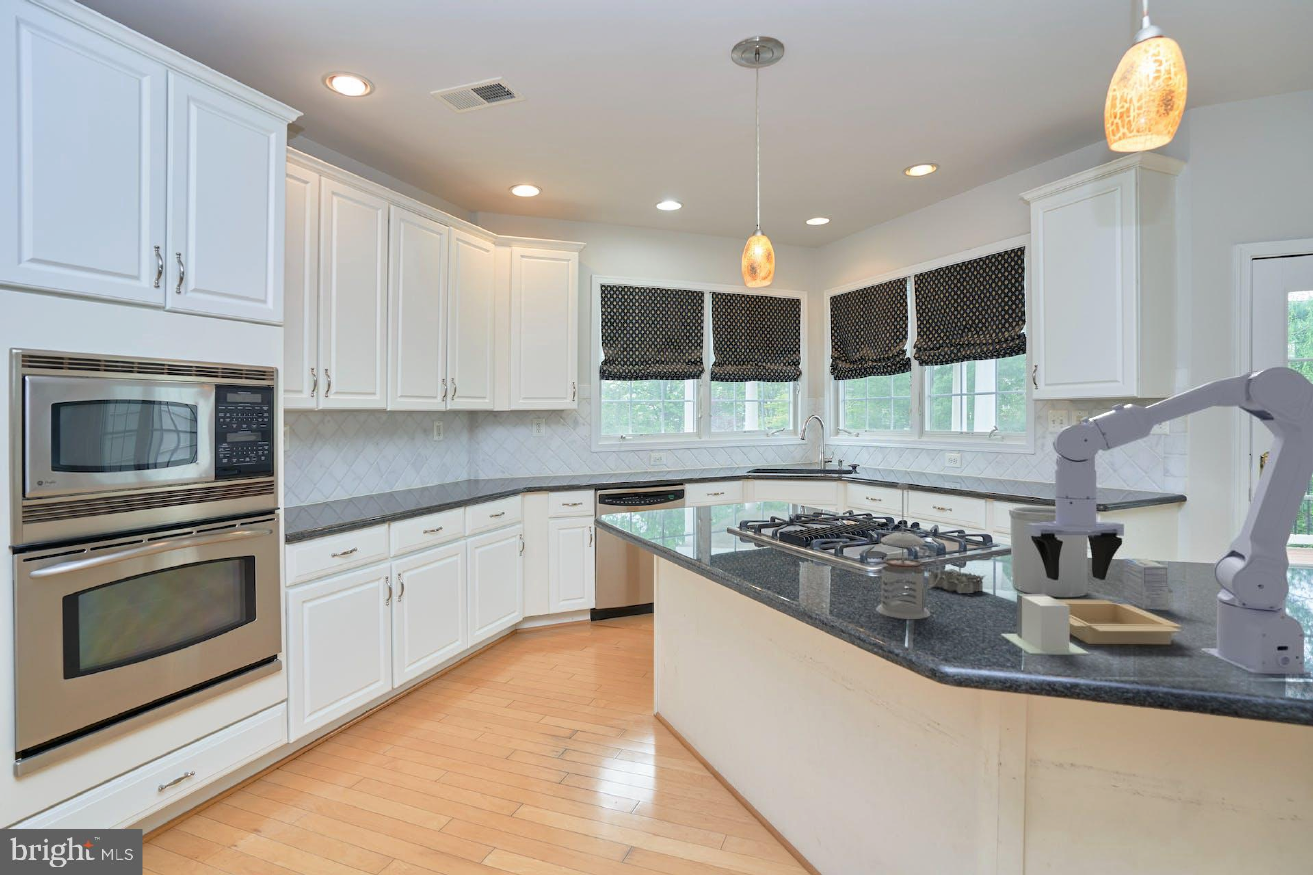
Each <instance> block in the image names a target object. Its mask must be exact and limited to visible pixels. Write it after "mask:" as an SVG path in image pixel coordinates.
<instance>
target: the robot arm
mask: <svg viewBox="0 0 1313 875" xmlns="http://www.w3.org/2000/svg"><path fill="white" fill-rule="evenodd" d="M1212 407H1224V408H1225V407H1227V408H1231V407H1233V408H1234V407H1238V408H1240V409H1241V410H1243V411H1244V412H1246V413H1248V414H1250V415H1251V416H1253V417H1255V418H1257V419H1259V421H1260V422H1261V423H1262V424H1263V425H1264V426H1265V427H1266V428H1267V429H1268V431H1270V432H1271V434H1272V435H1273V436H1274V437H1273V438H1274V439H1273V441H1272V443H1271V446H1270V449H1269V451H1268V455H1267V457H1266V459H1265V460H1266V461H1265V463H1264V466H1263V469H1262V472H1261V474H1260V477H1259V481H1258V484H1257V486H1256V488H1255V491H1254V494H1253V497H1252V500H1251V503H1250V506H1249V509H1248V512H1247V513H1246V517H1245V520H1244V523H1243V525H1242V528H1241V531H1240V533H1239V535H1238V536H1237V537H1236V538H1235V539H1234V540H1233V541H1232V542H1231V543H1230V544H1229V547H1228V550H1227V552H1226V553H1225V554H1224V555H1223V556H1222V557H1221V558H1219V559H1218V560H1217V561H1216V562H1215V564H1214V567H1213V572H1212V574H1213V577H1214V580H1215V581H1216V583H1217V584H1218V585H1219V586H1220V587H1221V588H1222V589H1221V590H1220V592H1219V593H1218V594H1217V595H1216V600H1217V601H1216V606H1217V607H1216V648H1206V647H1205V648H1201V649H1200V651H1201V652H1203V653H1205V654H1208V655H1210V656H1212V657H1215V658H1217V659H1219V660H1222V661H1223V662H1226V663H1228V664H1231V665H1232V666H1236V667H1239V668H1241V669H1242V670H1244V671H1247V672H1249V673H1251V674H1265V675H1266V674H1270V675H1271V674H1274V675H1275V674H1276V675H1277V674H1278V675H1279V674H1281V675H1284V674H1287V675H1291V674H1292V675H1293V674H1294V675H1295V674H1296V675H1297V674H1298V675H1303V674H1304V675H1310V674H1311V673H1310V670H1307V669H1305V668H1304V667H1305V666H1304V665H1305V663H1304V662H1305V661H1304V660H1305V632H1304V629H1303V628H1304V627H1303V625H1302V624H1301V623H1300V621H1299V620H1298V619H1296V618H1295V617H1293V616H1290V615H1288V614H1287V613H1286V612H1285V610H1284V609H1283V601H1284V600H1285V599H1286V598H1287V597H1288V594H1289V591H1290V590H1289V589H1290V585H1289V582H1288V577H1287V572H1288V569H1289V567H1290V562H1289V558H1288V552H1287V548H1286V547H1287V544H1288V542H1289V539H1290V536H1291V533H1292V531H1293V527H1294V526H1295V523H1296V520H1297V517H1298V514H1299V512H1300V510H1301V506H1302V504H1303V500H1304V499H1305V497H1306V496H1305V495H1306V493H1307V490H1308V487H1309V485H1310V481H1311V480H1312V477H1313V382H1311V381H1310V380H1309V379H1308V378H1307V377H1305V375H1303V374H1302V373H1301V372H1300V371H1298V370H1296V369H1294V368H1290V367H1286V366H1274V367H1268V368H1266V369H1264V370H1253V371H1249V372H1246V373H1243V374H1241V375H1235V376H1231V377H1230V376H1229V377H1226V378H1222V379H1218V380H1213V381H1210V382H1206V383H1204V384H1200V385H1198V386H1197V387H1193V388H1191V389H1189V390H1187V391H1183V392H1181V393H1179V394H1176V395H1173V396H1171V397H1168V398H1166V399H1164V400H1161V401H1158V402H1156V403H1152V404H1151V405H1148V406H1146V407H1142V406H1139V405H1137V404H1133V403H1129V404H1125V405H1123V404H1122V403H1118V404H1116V405H1113V406H1112V407H1111V409H1112V410H1110V411H1107V412H1104V413H1102V414H1099V415H1097V416H1095V417H1091V418H1088V417H1087V416H1086V417H1083V418H1080V423H1081V424H1072V425H1070V426H1069V425H1067V426H1065V427H1063V428H1061V429H1060V430H1058V432H1057V433H1056V435H1055V436H1054V441H1053V442H1052V447H1053V449H1054V451H1055V452H1056V454H1057V455H1056V460H1055V465H1056V468H1055V472H1054V473H1055V474H1054V475H1055V476H1054V478H1055V481H1054V482H1055V483H1054V485H1055V486H1054V487H1055V491H1054V492H1055V496H1054V497H1055V500H1054V501H1055V503H1054V504H1055V506H1054V507H1055V522H1043V523H1028V534H1029V535H1031V539H1032V541H1033V542H1034V544H1035V546H1036V547H1037V549H1038V551H1039V553H1040V556H1041V558H1042V561H1043V564H1044V567H1045V571H1046V575H1047V578H1050V579H1052V580H1058V578H1059V558H1060V552H1061V548H1062V544H1063V541H1061V540H1057V537H1055V535H1088V542H1089V547H1090V552H1091V553H1090V554H1091V574H1092V577H1093V578H1094V579H1097V580H1100V581H1105V580H1106V577H1107V575H1108V569H1109V566H1110V564H1111V563H1112V560H1113V558H1114V557H1115V555H1116V553H1117V551H1118V550H1119V548H1120V547H1121V546H1122V545H1123V537H1124V536H1125V524H1124V523H1119V522H1107V521H1106V522H1103V521H1097V470H1096V455H1097V454H1098V453H1099V451H1101V450H1102V451H1103V452H1107V451H1109V450H1112V449H1116V448H1119V447H1121V446H1125V445H1127V444H1130V443H1134V442H1136V441H1138V440H1142V439H1144V438H1147V437H1149V436H1150V434H1151V432H1152V430H1153V428H1154V426H1156V425H1160V424H1162V423H1164V422H1165V423H1166V422H1168V421H1172V420H1174V419H1179V418H1180V417H1184V416H1187V415H1190V414H1193V413H1196V412H1199V411H1203V410H1205V409H1208V408H1212ZM1067 531H1088V532H1067ZM1119 536H1120V537H1119Z"/></svg>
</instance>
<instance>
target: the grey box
mask: <svg viewBox="0 0 1313 875" xmlns="http://www.w3.org/2000/svg"><path fill="white" fill-rule="evenodd" d="M1016 595H1017V596H1016V600H1017V601H1016V634H1017V636H1019V637H1020V638H1022V639H1024V640H1025V641H1027V642H1028V643H1030V644H1032V645H1033V646H1035V647H1037V648H1038V649H1040V650H1069V642H1070V635H1071V634H1070V606H1069V605H1067V604H1064V603H1062V602H1060V601H1058V600H1059V599H1056V598H1054V597H1050V596H1047V595H1045V594H1031V593H1017V594H1016Z"/></svg>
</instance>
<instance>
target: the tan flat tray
mask: <svg viewBox="0 0 1313 875" xmlns="http://www.w3.org/2000/svg"><path fill="white" fill-rule="evenodd" d="M1057 600H1058V601H1060V602H1062V603H1064V604H1067V605H1069V606H1070V635H1071V636H1074V637H1075V638H1077V639H1079V640H1081V641H1083V642H1085V643H1086V644H1087V645H1093V644H1094V645H1171V644H1172V633H1179V634H1180V633H1183V631H1182V630H1180V629H1183V627H1184V626H1183V625H1180V624H1179V623H1178V624H1177V623H1175V622H1173V621H1172V620H1168V619H1165V618H1163V617H1161V616H1158V615H1156V614H1153V613H1151V612H1148V611H1145V610H1143V609H1142V608H1141V609H1140V608H1138V607H1136V606H1133V605H1131V604H1128V603H1127V604H1126V603H1124V604H1123V603H1121V604H1120V603H1117V602H1112V601H1110V600H1108V599H1057Z"/></svg>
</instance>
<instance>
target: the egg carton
mask: <svg viewBox="0 0 1313 875" xmlns="http://www.w3.org/2000/svg"><path fill="white" fill-rule="evenodd" d="M925 570H926V571H927V572H928V573H929V575H928V585H931V584H933V583H934V582H936V580H937V578H938V570H937V571H935V570H933V569H931V568H929V567H927V568H926V569H925ZM985 577H986V575H985V574H984V575H979V574H978V575H976V574H975V573H973V574H972V573H971V572H968V573H966V572H960V571H958V570H957V569H953V568H951V569H945V570H942V569H941V574H940V578H939V580H938V582H937V583H936V584H935V585H934V586H933V587H932V588H942V587H943V588H942V589H943V590H944V589H947V590H946V591H954V590H956V591H955V592H957V593H958V594H961V593H973V594H974V591H982V592H984V591H983V588H984V587H983V584H984V582H983V580H984V579H985Z"/></svg>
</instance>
